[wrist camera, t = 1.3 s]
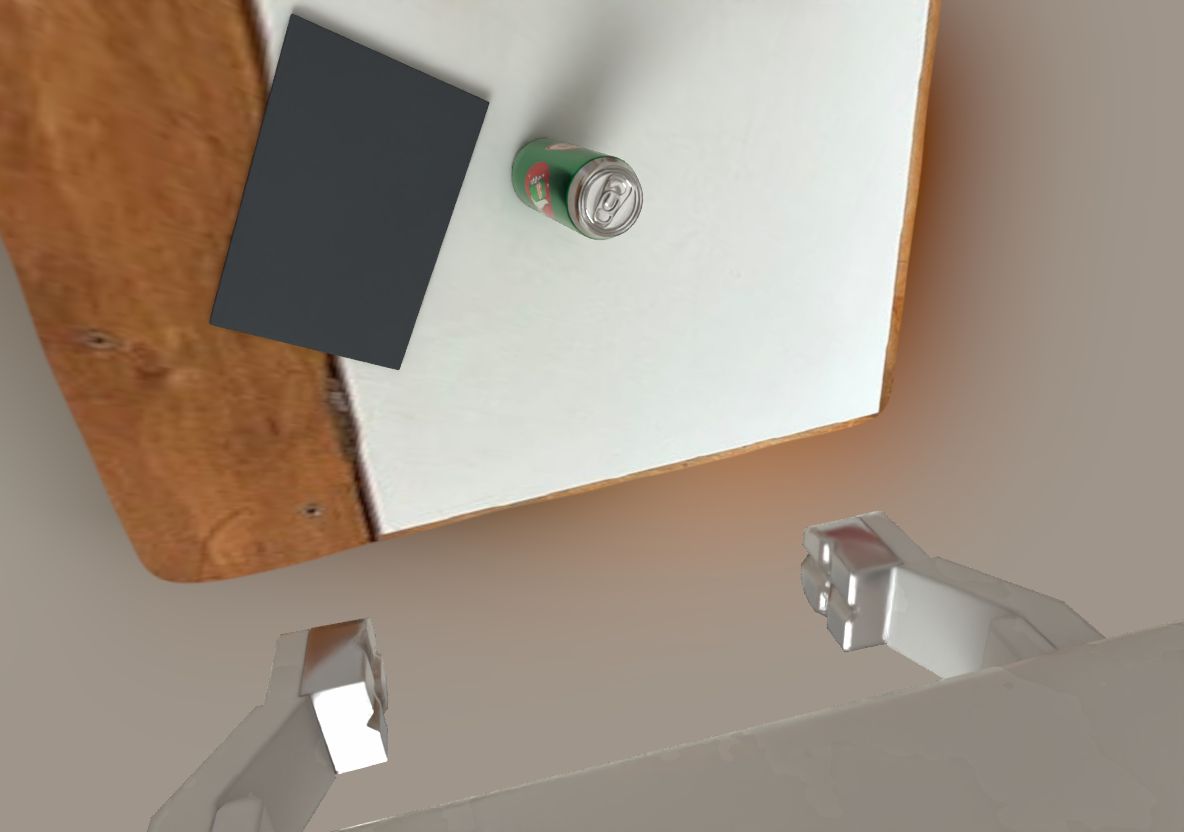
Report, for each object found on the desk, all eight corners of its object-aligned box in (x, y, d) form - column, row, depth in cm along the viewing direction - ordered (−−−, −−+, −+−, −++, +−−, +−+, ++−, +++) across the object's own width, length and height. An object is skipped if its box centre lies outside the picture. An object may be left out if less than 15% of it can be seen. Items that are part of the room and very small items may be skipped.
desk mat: (291, 13, 47) (291, 13, 46) (487, 102, 53) (489, 102, 53) (209, 321, 52) (209, 324, 51) (397, 367, 58) (399, 370, 58)
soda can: (585, 158, 58) (662, 182, 48) (554, 220, 59) (623, 257, 49) (529, 123, 55) (598, 141, 45) (496, 189, 56) (558, 221, 46)
